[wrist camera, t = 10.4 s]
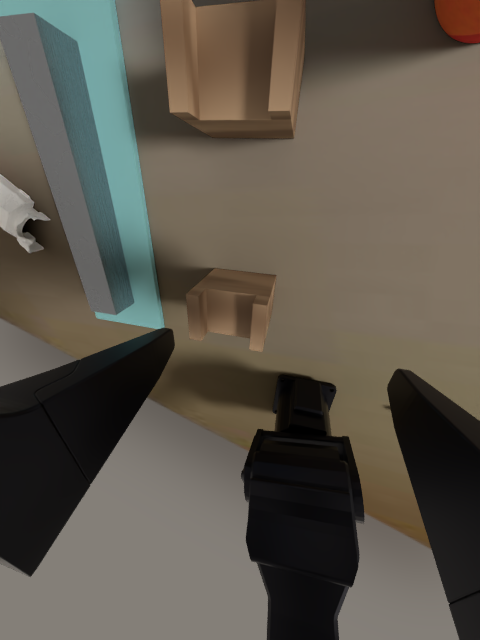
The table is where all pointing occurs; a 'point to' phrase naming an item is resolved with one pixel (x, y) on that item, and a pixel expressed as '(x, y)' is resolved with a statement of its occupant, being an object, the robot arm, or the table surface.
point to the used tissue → (18, 214)
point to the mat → (110, 137)
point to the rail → (69, 153)
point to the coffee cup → (460, 19)
